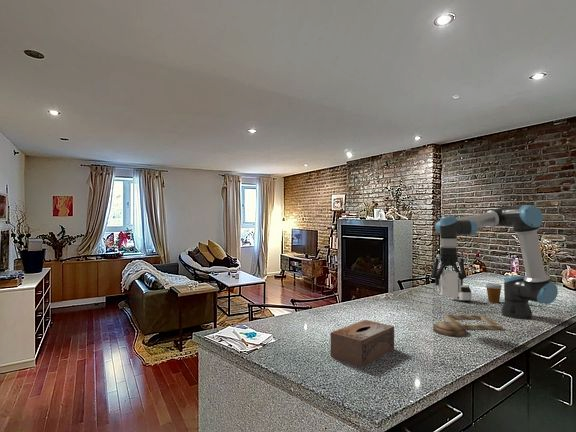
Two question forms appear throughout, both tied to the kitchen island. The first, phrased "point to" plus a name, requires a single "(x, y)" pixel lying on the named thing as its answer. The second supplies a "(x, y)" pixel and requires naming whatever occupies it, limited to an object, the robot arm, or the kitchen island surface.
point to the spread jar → (464, 294)
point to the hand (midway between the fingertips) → (449, 292)
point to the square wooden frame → (492, 326)
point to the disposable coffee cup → (493, 292)
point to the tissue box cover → (362, 342)
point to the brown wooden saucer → (449, 329)
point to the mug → (449, 284)
